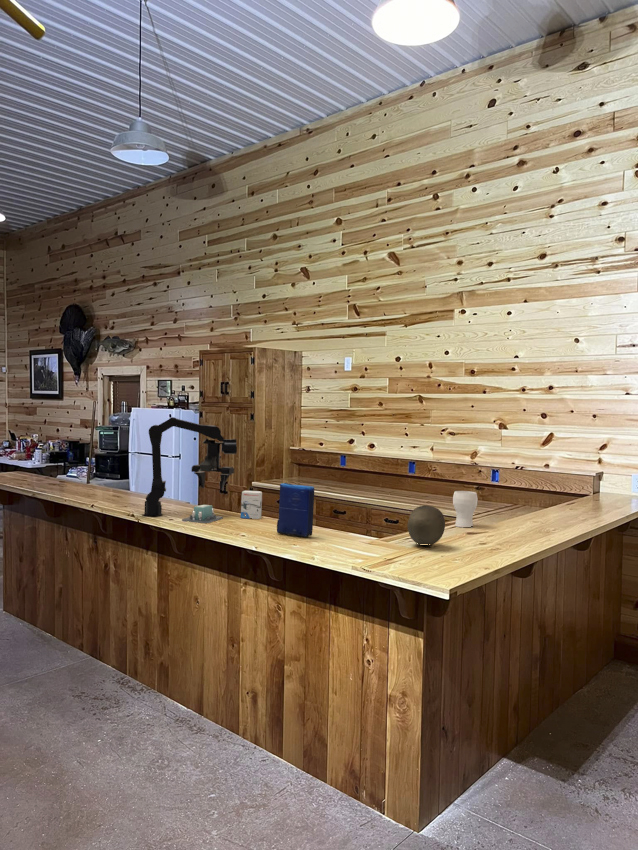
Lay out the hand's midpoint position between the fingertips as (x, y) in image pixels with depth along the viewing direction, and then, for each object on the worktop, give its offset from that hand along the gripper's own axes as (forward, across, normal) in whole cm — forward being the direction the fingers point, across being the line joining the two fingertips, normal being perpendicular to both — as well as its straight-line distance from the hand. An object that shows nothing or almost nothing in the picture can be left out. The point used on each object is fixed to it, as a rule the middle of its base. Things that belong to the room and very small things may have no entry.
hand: (212, 488), depth 287 cm
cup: (+12, +108, +30) cm, 113 cm away
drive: (+11, +2, -11) cm, 16 cm away
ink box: (+12, +18, +3) cm, 22 cm away
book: (+12, +49, -25) cm, 56 cm away
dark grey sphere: (+12, +99, -21) cm, 102 cm away
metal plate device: (+12, +2, -12) cm, 17 cm away
